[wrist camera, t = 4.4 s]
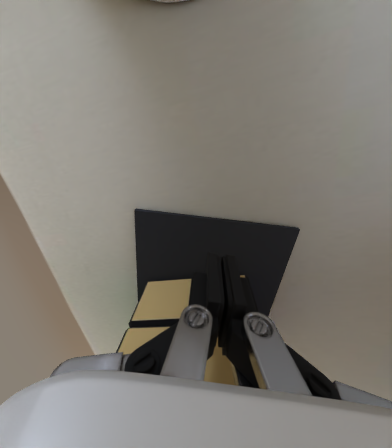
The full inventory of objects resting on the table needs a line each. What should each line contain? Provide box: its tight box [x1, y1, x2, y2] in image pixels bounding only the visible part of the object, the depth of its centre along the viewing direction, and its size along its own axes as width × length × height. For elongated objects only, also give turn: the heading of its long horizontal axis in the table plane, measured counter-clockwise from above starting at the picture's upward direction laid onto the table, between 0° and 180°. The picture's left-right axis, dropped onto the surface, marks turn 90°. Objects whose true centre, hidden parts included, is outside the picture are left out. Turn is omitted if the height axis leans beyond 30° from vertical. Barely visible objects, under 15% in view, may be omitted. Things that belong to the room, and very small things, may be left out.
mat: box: [135, 209, 300, 317], centre depth 21 cm, size 28×14×1 cm, turn 174°
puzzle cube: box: [116, 275, 259, 385], centre depth 15 cm, size 10×10×10 cm
